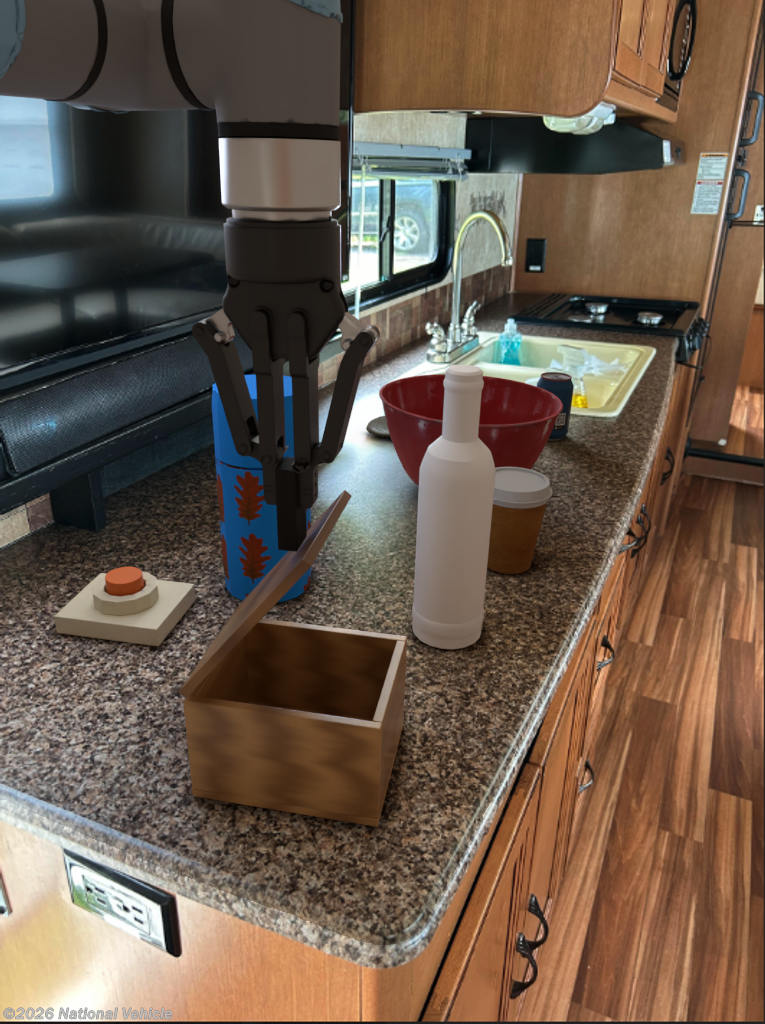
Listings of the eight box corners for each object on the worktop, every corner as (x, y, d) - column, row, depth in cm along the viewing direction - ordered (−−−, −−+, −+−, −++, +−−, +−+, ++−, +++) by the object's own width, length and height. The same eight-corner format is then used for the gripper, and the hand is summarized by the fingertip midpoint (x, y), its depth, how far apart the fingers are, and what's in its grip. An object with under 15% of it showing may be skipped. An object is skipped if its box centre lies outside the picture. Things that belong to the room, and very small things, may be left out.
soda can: (525, 431, 152) (531, 372, 147) (556, 429, 154) (563, 370, 149) (541, 443, 146) (548, 381, 141) (574, 440, 148) (582, 379, 143)
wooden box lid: (352, 495, 64) (344, 489, 63) (311, 566, 52) (302, 559, 52) (242, 613, 71) (236, 608, 70) (185, 698, 59) (177, 692, 59)
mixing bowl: (508, 451, 142) (516, 369, 135) (584, 515, 117) (598, 417, 110) (359, 462, 135) (360, 375, 128) (405, 532, 110) (409, 428, 103)
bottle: (397, 630, 87) (406, 367, 74) (440, 604, 92) (456, 355, 80) (453, 660, 82) (473, 383, 69) (496, 630, 87) (522, 369, 75)
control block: (56, 633, 85) (50, 601, 83) (103, 588, 94) (98, 559, 92) (158, 646, 83) (154, 615, 81) (196, 599, 92) (193, 570, 90)
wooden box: (403, 724, 72) (407, 636, 68) (377, 827, 61) (380, 729, 57) (245, 701, 75) (239, 615, 71) (192, 796, 63) (182, 700, 59)
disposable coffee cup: (529, 587, 96) (539, 499, 91) (459, 568, 100) (465, 483, 95) (552, 557, 104) (563, 474, 99) (486, 540, 108) (493, 460, 103)
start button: (100, 595, 85) (97, 581, 84) (117, 577, 89) (116, 564, 88) (133, 599, 85) (131, 585, 84) (150, 581, 88) (148, 568, 87)
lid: (427, 439, 151) (430, 414, 150) (402, 440, 143) (406, 413, 142) (381, 431, 156) (384, 407, 155) (355, 432, 148) (358, 406, 147)
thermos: (297, 609, 90) (292, 402, 80) (211, 599, 92) (195, 395, 82) (320, 566, 100) (318, 377, 90) (242, 557, 102) (231, 371, 91)
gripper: (392, 214, 52) (384, 530, 61) (209, 208, 54) (230, 514, 64) (369, 221, 45) (365, 575, 55) (161, 214, 47) (193, 556, 57)
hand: (292, 542), depth 59 cm, fingers closed
